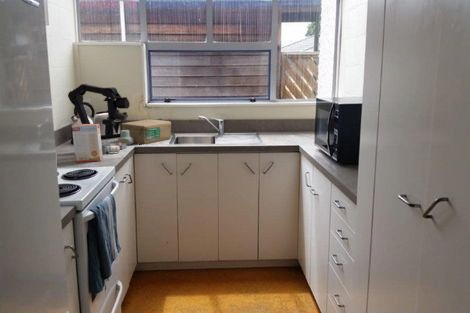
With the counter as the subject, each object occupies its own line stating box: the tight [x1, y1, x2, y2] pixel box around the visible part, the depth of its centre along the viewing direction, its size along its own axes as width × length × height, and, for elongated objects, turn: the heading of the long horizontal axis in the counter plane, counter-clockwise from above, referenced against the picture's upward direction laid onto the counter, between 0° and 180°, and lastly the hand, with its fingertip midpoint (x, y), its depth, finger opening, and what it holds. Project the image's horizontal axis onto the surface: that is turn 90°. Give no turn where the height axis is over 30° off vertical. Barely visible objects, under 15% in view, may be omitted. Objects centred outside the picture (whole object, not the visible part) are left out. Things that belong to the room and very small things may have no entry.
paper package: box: [121, 118, 172, 145], centre depth 301 cm, size 27×26×14 cm
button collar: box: [111, 143, 127, 151], centre depth 271 cm, size 7×7×3 cm
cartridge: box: [106, 145, 121, 153], centre depth 259 cm, size 12×4×4 cm, turn 81°
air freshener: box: [116, 130, 134, 147], centre depth 285 cm, size 11×8×10 cm
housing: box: [101, 142, 111, 155], centre depth 259 cm, size 6×8×6 cm
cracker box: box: [71, 123, 104, 163], centre depth 236 cm, size 14×6×21 cm, turn 92°
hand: (114, 134), depth 256 cm, fingers open, 6 cm apart
